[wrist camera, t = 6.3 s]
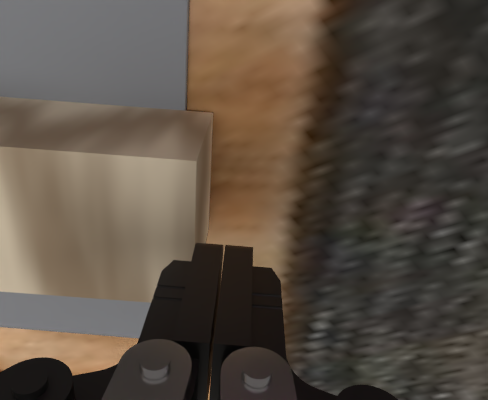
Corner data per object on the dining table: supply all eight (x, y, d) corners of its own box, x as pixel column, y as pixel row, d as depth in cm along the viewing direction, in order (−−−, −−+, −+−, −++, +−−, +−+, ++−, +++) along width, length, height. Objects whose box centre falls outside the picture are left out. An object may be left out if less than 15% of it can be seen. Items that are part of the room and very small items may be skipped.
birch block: (196, 161, 12) (-245, 128, 12) (193, 305, 14) (-180, 278, 14) (213, 112, 17) (-108, 88, 17) (208, 228, 19) (-75, 207, 19)
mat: (191, -95, 14) (189, -97, 14) (180, 335, 22) (179, 341, 22) (-254, -137, 14) (-267, -140, 14) (-103, 312, 22) (-109, 317, 22)
